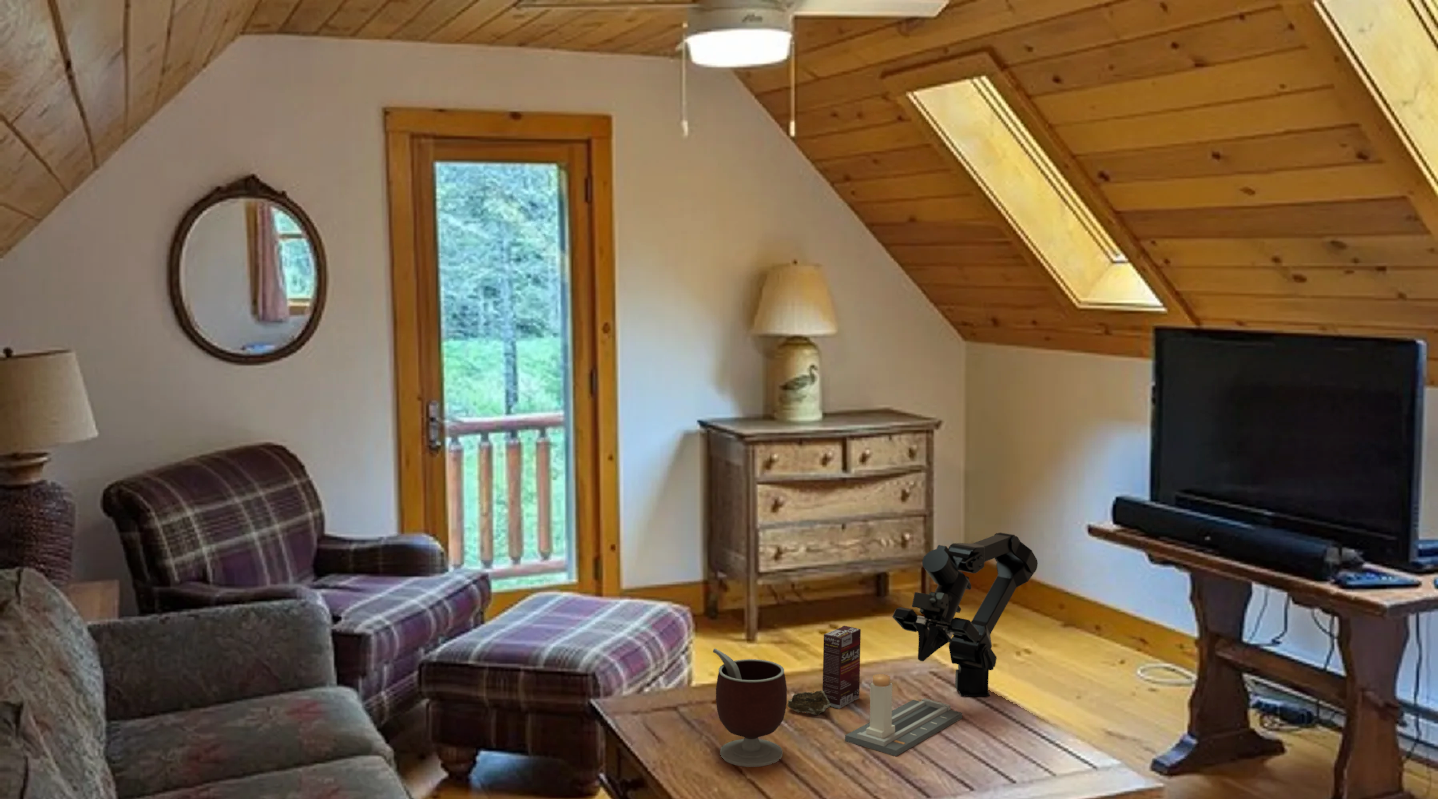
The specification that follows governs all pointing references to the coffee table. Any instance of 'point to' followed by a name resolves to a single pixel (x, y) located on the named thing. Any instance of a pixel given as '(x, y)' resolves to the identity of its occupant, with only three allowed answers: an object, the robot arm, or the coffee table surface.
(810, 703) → the rock sample
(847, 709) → the coffee table surface
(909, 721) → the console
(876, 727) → the fader knob
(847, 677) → the supplement box
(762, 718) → the mate gourd
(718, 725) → the coffee table surface
